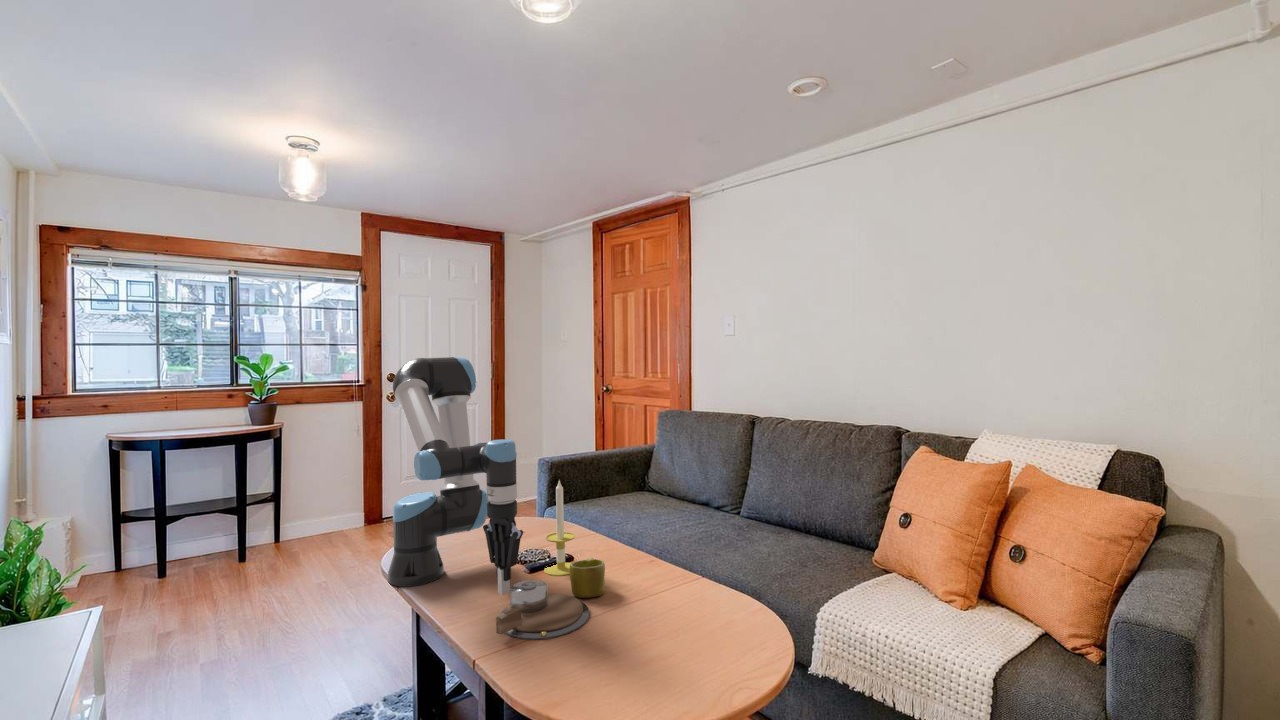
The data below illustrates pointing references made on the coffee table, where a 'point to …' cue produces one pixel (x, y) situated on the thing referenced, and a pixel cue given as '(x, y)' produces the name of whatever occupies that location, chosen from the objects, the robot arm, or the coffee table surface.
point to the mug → (587, 578)
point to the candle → (559, 538)
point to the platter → (542, 616)
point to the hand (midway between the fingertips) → (504, 591)
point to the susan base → (551, 634)
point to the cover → (529, 596)
